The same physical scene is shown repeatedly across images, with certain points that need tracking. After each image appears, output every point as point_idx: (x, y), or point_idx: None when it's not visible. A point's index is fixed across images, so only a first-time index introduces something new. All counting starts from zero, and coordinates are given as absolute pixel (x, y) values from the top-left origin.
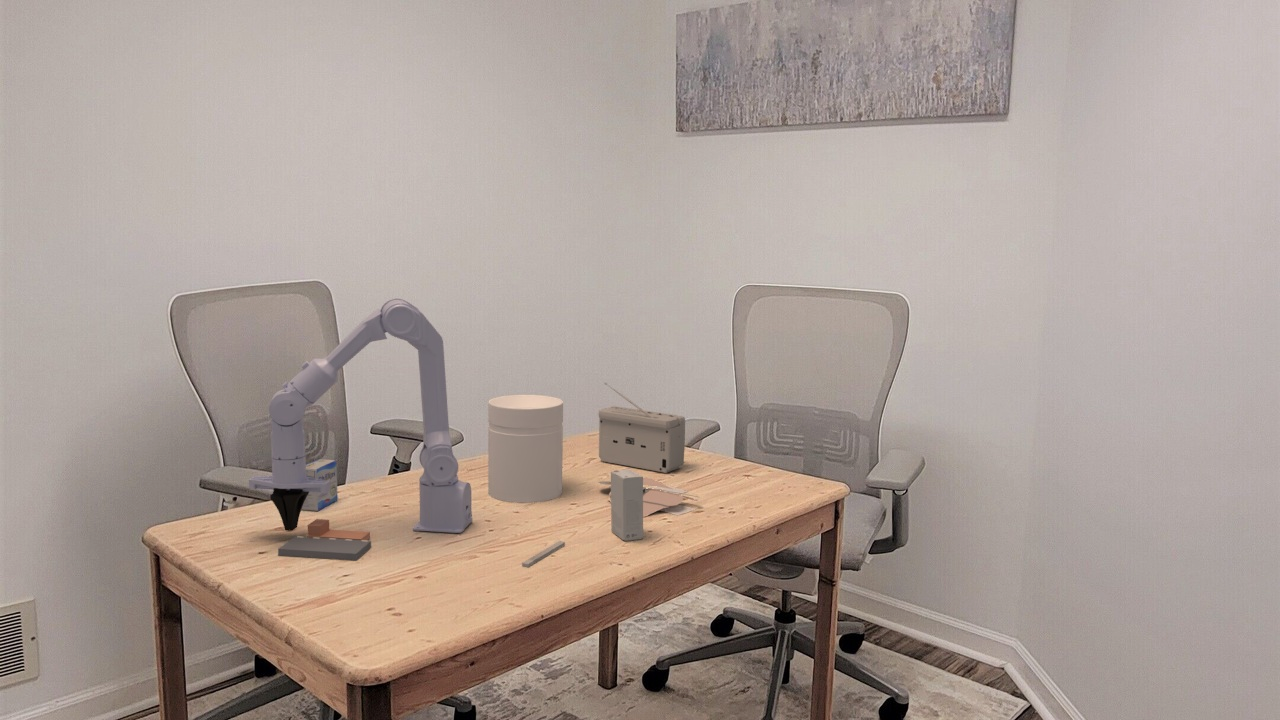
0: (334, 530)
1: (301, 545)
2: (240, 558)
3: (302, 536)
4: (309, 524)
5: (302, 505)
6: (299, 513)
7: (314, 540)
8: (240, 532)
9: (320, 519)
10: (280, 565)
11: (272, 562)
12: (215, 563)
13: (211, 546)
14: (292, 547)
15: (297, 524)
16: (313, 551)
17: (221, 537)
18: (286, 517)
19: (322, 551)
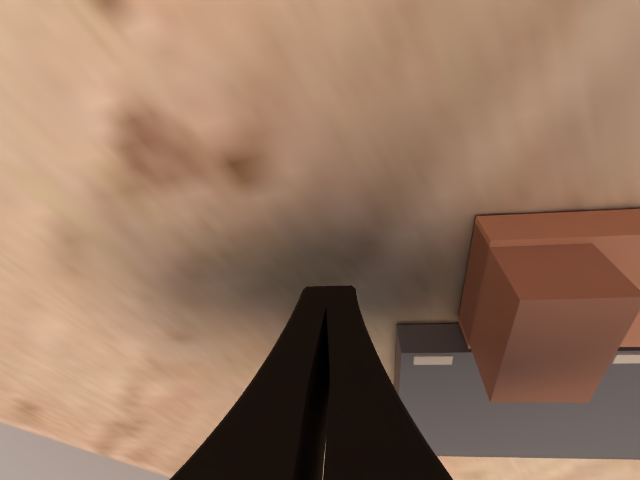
0: (636, 251)
1: (481, 426)
2: None
3: (442, 355)
4: (498, 390)
5: (413, 424)
6: (376, 359)
7: None
8: (15, 257)
9: (560, 305)
10: None
11: None
12: None
13: (88, 396)
14: (450, 443)
15: (356, 297)
16: (556, 455)
17: (15, 324)
18: (326, 429)
19: (599, 457)
